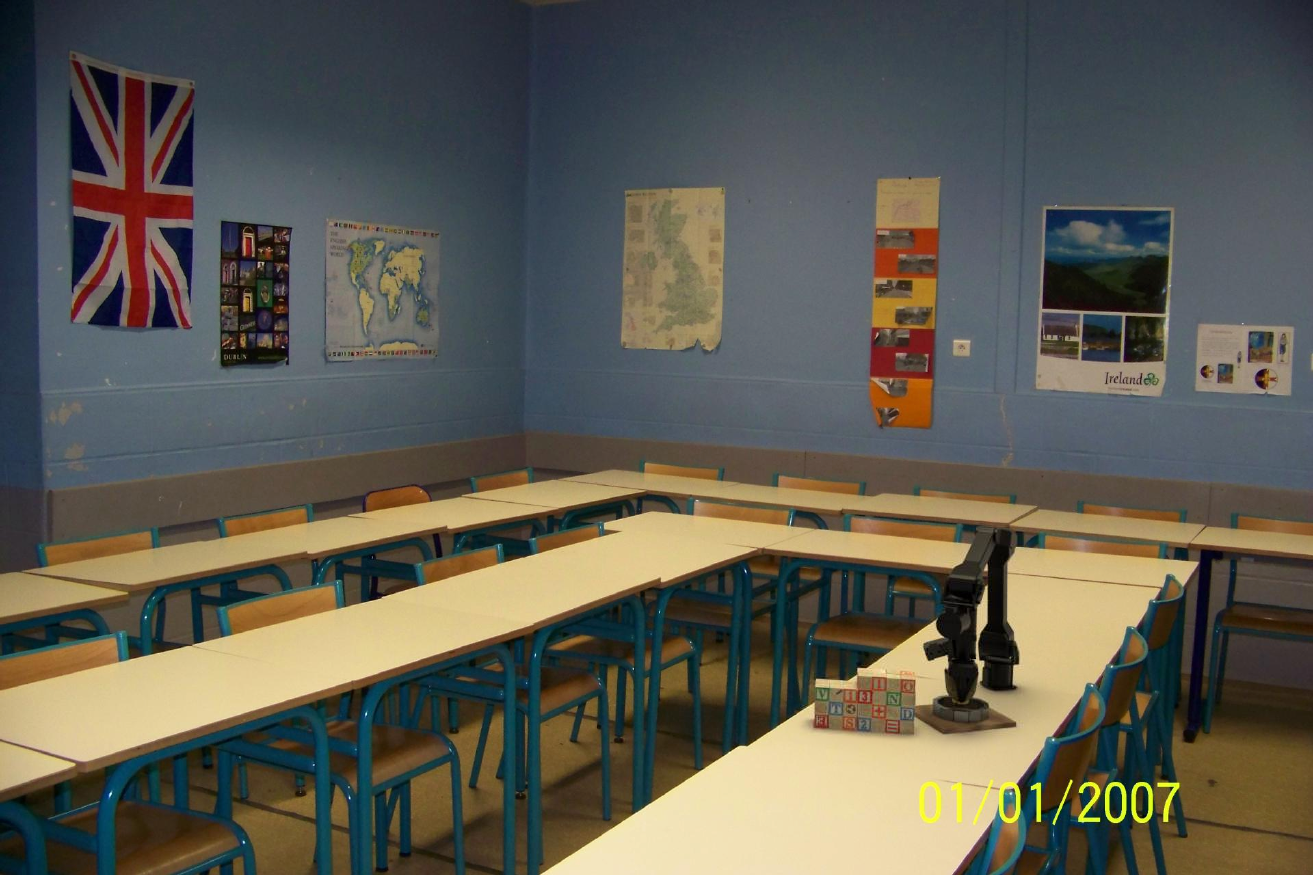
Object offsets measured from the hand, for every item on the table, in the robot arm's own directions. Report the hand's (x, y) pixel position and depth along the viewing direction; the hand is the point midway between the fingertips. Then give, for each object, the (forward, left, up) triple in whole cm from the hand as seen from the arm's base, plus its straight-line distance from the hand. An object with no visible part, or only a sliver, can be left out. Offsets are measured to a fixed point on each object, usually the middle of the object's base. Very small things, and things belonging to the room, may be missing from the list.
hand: (961, 697), depth 262 cm
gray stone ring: (0, 0, -5) cm, 5 cm away
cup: (0, 0, -2) cm, 2 cm away
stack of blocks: (+23, -1, -5) cm, 24 cm away
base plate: (0, 0, -5) cm, 5 cm away
